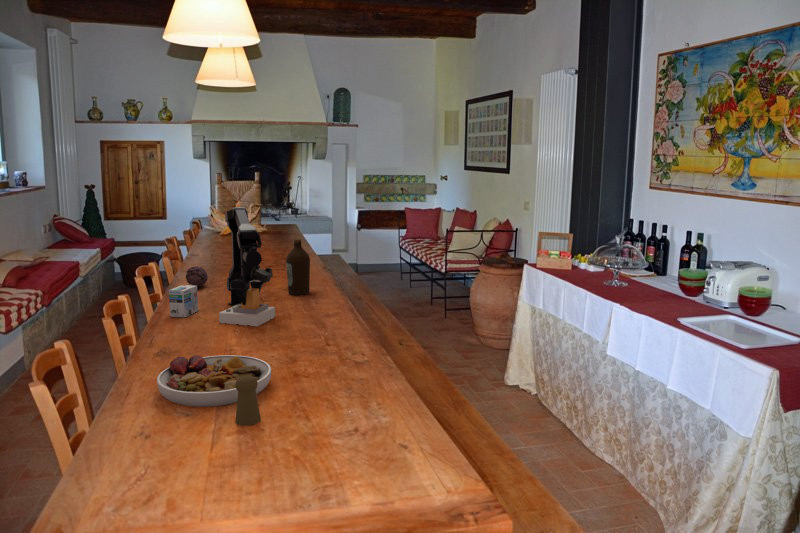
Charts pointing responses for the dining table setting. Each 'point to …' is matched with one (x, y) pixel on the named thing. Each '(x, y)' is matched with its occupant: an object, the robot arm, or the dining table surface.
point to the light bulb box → (183, 301)
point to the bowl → (210, 379)
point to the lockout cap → (252, 299)
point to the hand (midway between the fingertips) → (250, 302)
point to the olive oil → (298, 270)
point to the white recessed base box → (247, 315)
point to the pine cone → (196, 276)
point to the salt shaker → (247, 401)
